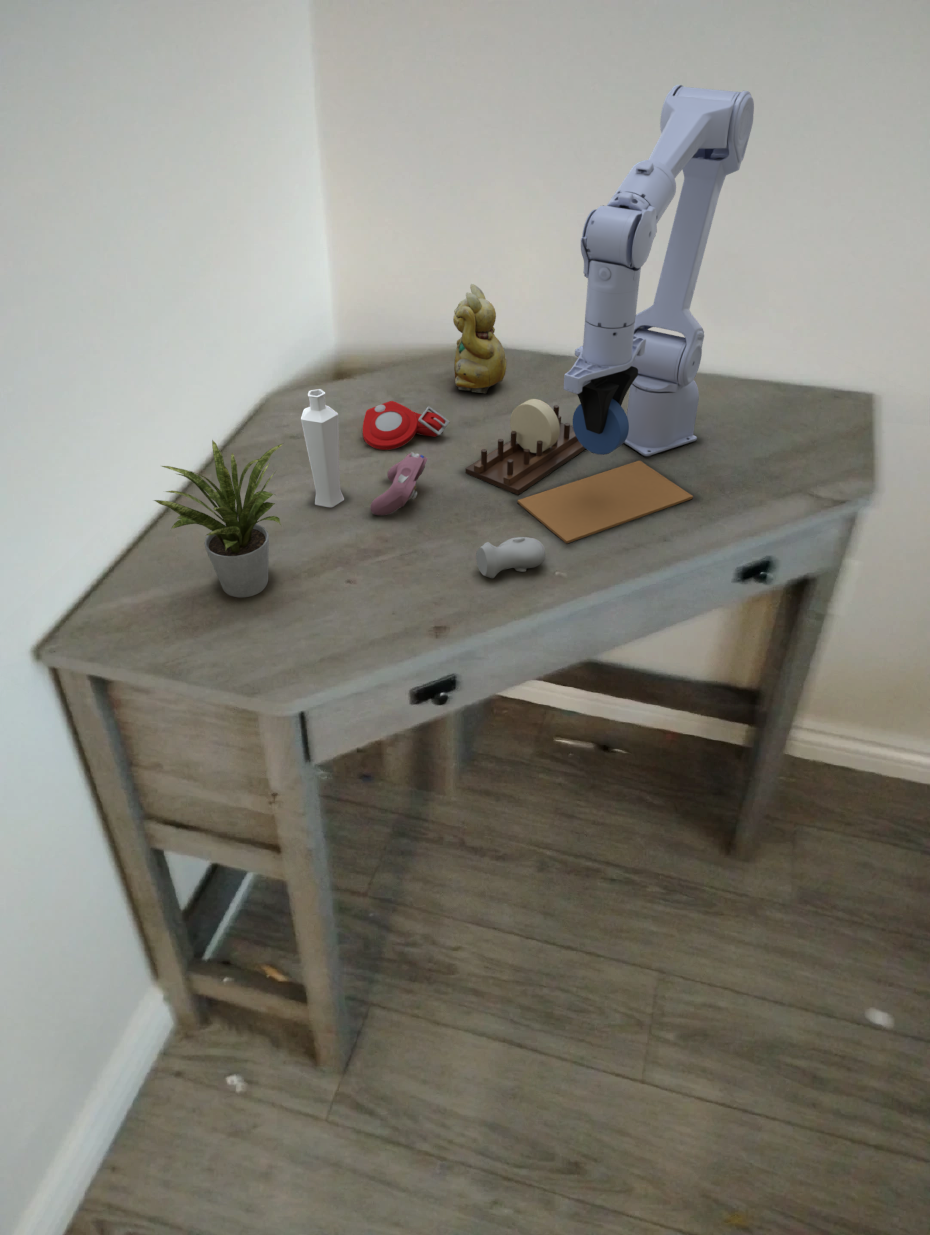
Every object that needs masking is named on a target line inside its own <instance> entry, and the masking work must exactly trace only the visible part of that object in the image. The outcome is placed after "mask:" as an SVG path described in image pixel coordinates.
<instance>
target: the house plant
mask: <svg viewBox="0 0 930 1235" xmlns="http://www.w3.org/2000/svg"><path fill="white" fill-rule="evenodd" d="M284 443H285V442H283V443H280V444H278V445H275V446H274V447H272V448H270V449H269V450H267V451H266V452H265V453H264V454H262V456H260V458H257V459H253V460H251V461H250V462H248V463H247V464H246V465H245V466H244V468H243V470H242V471H241V474H240V479H239V476H238V475H239V474H238V464H237V461H236V458H235V455H234V453H233V452H231V455H230V468H231V469H230V470H231V474H230V471H229V469H228V468H227V467H226V466H225V461H224V456H223V454H222V453H221V451H220V448H219V447H218V445H217V443H216V442H215V441H214V440H213V439H212V441H211V447H212V453H213V460H214V466H215V474H216V479H217V481H218V483H219V488H218V486H217V485H216V484H215V483H213V481H212V480H211V479H209V478H208V477H206V476H203V475H202V474H200V473H197V472H195V471H192V470H189V469H184V468H180V467H179V468H178V467H176V466H170V465H161V467H162V468H164V469H167V470H171V471H173V472H177V475H179V476H181V477H184V478H186V479H188V480H189V481H190V482H192V483H193V484H194V485H195V486H196V487H197V488H198V489H199V490H200V491H201V493H202V494H203V495H204V496H205V497H206V499H207V500H208V501H209V502H210V504H211V505H212V506H213V508H211V507H209V505H207V504H206V503H205V502H203V501H202V500H200V499H199V498H197V497H195V496H193V495H191V494H189V493H187V492H183V491H178V490H167V491H163V492H164V493H170V494H177V495H181V496H184V497H187V498H189V499H191V500H193V501H194V502H196V503H197V504H199V505H201V506H203V507H204V508H206V509H207V510H208V511H210V512H211V513H212V514H214V516H216V517H217V518H218V519H219V520H221V521H219V520H218V519H215V517H212V516H210V515H209V514H207V513H205V512H202V511H199V510H196V509H194V508H191V507H189V506H185V505H182V504H180V503H176V502H173V501H169V500H162V499H161V500H159V499H154V500H152V501H153V502H155V503H158V504H159V505H161V506H164V507H166V508H169V509H170V510H172V511H173V512H174V513H177V514H178V515H179V516H177V517H176V518H175V520H177V519H178V520H177V521H176V522H174V523H173V525H172V527H171V528H170V530H172V529H177V528H181V527H183V526H184V527H185V526H188V525H198V526H203V527H205V528H206V529H208V530H209V531H211V532H209V533H207V534H206V536H205V540H204V544H203V545H204V548H205V551H206V553H207V555H208V558H209V560H210V562H211V564H212V565H211V566H212V567H213V569H214V571H215V573H216V577H217V578H218V581H219V583H220V586H221V588H222V590H223V591H224V592H225V594H227V595H228V596H230V597H234V598H248V597H253V596H255V595H258V594H260V593H261V592H262V591H264V590H265V588H266V587H267V585H268V583H269V559H270V558H269V552H270V549H269V548H270V535H269V531H268V530H267V529H266V528H265V527H264V526H263V525H260V524H259V522H262V521H271V522H276V523H278V524H279V525H280V526H282V524H281V519H280V517H278V516H276V515H270V516H265V517H263V518H261V517H262V516H263V515H265V514H266V513H267V512H268V511H269V510H270V509H272V508H273V506H274V505H276V503H275V502H271V501H267V500H269V499H270V498H271V497H272V496H276V494H275V493H272V492H269V491H265V488H266V487H267V485H268V483H269V482H270V481H271V479H272V478H273V476H274V475H275V474H276V472H277V470H278V469H277V470H276V471H274V472H273V473H272V474H271V476H270V477H269V478H268V479H267V480H266V482H265V483H264V484H263V487H262V488H261V489H260V490H258V491H256V490H257V488H258V486H259V485H260V483H261V482H262V479H263V477H264V476H265V473H266V471H267V469H268V467H269V465H270V464H271V461H270V462H268V461H269V460H270V457H272V455H273V454H274V452H276V451H277V450H278V449H280V448H281V447H282V446H283V444H284ZM267 463H268V464H267ZM253 464H254V467H253V468H252V470H251V473H250V475H249V478H248V479H249V480H248V484H247V488H246V491H245V495H244V499H243V502H242V498H241V492H242V485H243V481H244V478H245V476H246V474H247V472H248V470H249V469H250V467H251V466H252V465H253ZM266 464H267V465H266ZM204 479H205V480H204ZM207 482H208V483H207ZM216 512H217V513H218V514H217V513H216ZM260 518H261V519H260ZM222 522H223V523H224V524H223V523H222Z"/></svg>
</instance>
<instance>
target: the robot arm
mask: <svg viewBox="0 0 930 1235" xmlns="http://www.w3.org/2000/svg"><path fill="white" fill-rule="evenodd" d="M754 112H755V101H754V98H753V97H752V93H751V92H750V91H749V90H742V91H734V90H725V89H714V88H701V87H690V86H684V85H682V84H675V85H674V86H673V87H672V88H671V89H670V90H669V91H668V93H667V94H666V96H665V98H664V101H663V104H662V107H661V112H660V118H659V121H660V123H659V128H660V136H659V138H658V140H657V142H656V144H655V145H654V147H653V149H652V151H651V153H650V155H649V157H648V159H644V160H641V161H638V162H637V163H635V164H634V165H633V166H632V167H631V169H630V170H629V171H628V173H627V175H626V176H625V177H624V179H623V180H622V182H621V183H620V185H619V186H618V187H617V189H616V191H615V192H614V194H613V195H612V197H611V198H610V199H609V201H608V203H606V205H603V204H602V205H600V206H598V207H597V208H595V209H592V210H591V211H590V212H589V214H588V215H587V217H586V219H585V222H584V224H583V229H582V232H581V233H582V234H581V238H580V252H581V257H582V260H583V274H584V275H583V276H584V277H585V278H586V279H587V285H586V286H587V288H586V300H585V314H584V325H583V326H584V327H583V338H582V339H583V341H582V345H581V346H579V347H577V348H576V349H575V350H574V357H578V358H577V359H576V360H575V362H574V363H573V365H572V367H571V368H570V369H569V370H568V371H567V372H566V373H564V376H563V391H565V392H569V393H572V394H575V395H577V397H578V399H579V403H580V404H581V406H582V410H583V415H584V420H585V425H586V430H589V431H591V432H594V433H597V434H601V433H602V432H603V430H604V427H605V424H606V420H607V414H608V410H609V406H610V403H611V400H612V399H614V400H615V401H616V402H618V403H619V404H620V406H621V407H622V405H623V402H624V400H625V398H626V395H627V393H628V401H627V410H626V415H627V418H628V423H629V432H628V436H627V438H626V440H625V442H624V443H623V444H625V445H627V446H629V447H630V448H632V449H633V450H635V451H636V452H638V453H639V454H641V455H642V456H644V457H650V456H653V455H656V454H659V453H662V452H665V451H668V450H671V449H674V448H677V447H680V446H683V445H687V444H690V443H693V442H695V441H697V439H698V437H697V436H696V435H694V432H695V424H696V419H697V414H698V413H697V412H698V406H699V401H700V392H699V388H698V385H697V383H696V381H695V378H696V376H697V374H698V371H699V369H700V365H701V362H702V355H703V344H704V340H705V339H704V338H705V331H704V328H703V326H702V324H700V322H699V321H698V320H697V319H696V318H695V316H694V314H692V312H691V310H690V309H691V306H692V302H693V298H694V293H695V290H696V286H697V282H698V278H699V275H700V270H701V267H702V263H703V259H704V255H705V251H706V248H707V243H708V241H709V236H710V232H711V228H712V224H713V220H714V216H715V213H716V209H717V205H718V201H719V197H720V195H721V191H722V188H723V185H724V182H725V180H726V177H727V176H728V175H730V174H733V173H735V172H738V171H739V170H740V168H741V165H742V162H743V160H744V158H745V154H746V150H747V147H748V143H749V139H750V135H751V132H752V129H753V128H752V127H753V124H754V114H755V113H754ZM681 171H682V174H683V182H682V185H681V186H682V187H681V190H680V194H679V199H678V203H677V207H676V210H675V214H674V215H675V216H674V219H673V223H672V227H671V229H670V230H671V231H670V233H669V234H670V235H669V240H668V243H667V246H666V252H665V255H664V259H663V262H662V267H661V271H660V276H659V278H658V284H657V287H656V292H655V294H654V295H655V296H654V300H653V304H652V305H650V306H649V307H647V308H646V309H645V308H644V309H643V310H642V311H640V312H638V313H637V307H638V298H639V290H640V281H641V280H640V279H641V270H642V267H643V266H644V264H645V263H646V262H647V260H648V259H649V256H650V253H651V250H652V246H653V242H654V239H655V238H656V235H657V233H658V223H659V222H660V220H661V218H662V217H663V215H664V213H665V212H666V210H667V208H668V207H669V205H670V204H671V202H673V200H674V197H675V196H676V192H677V182H676V178H677V177H678V175H679V174H680V173H681ZM651 328H659V329H661V330H662V329H663V330H666V331H667V330H668V331H672V332H677V333H679V334H681V335H683V336H679V335H675V334H670V333H665V332H660V331H656V330H652V329H651ZM628 391H629V392H628Z"/></svg>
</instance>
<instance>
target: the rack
mask: <svg viewBox="0 0 930 1235" xmlns="http://www.w3.org/2000/svg"><path fill="white" fill-rule="evenodd" d="M552 409H553V411H554V412H555V414H556V416H557V418H558V421H559V425H560V434H559V437H558V440H557V441H556V443H555V444H554V445H552V446H551V447H549V448H548V449H546V450H545V451H543V452H542V446H543V442H542V441H537V448H536V453H532V452H530V450H529V449H524V448H522V447H521V446H520V445H519V444H518V443H517V441H516V438H517V432H516V431H510V440H509V441H507V442H505V441H504V440H505V439H504V438H498V439H497V448H496V449H494V450H493V451H491V452H489V453H488V449H486V448H482V449H481V450H480V459H478V460H477V461H475V462H473V463H472V464H470V465H468V466H467V467H465V470H464V471H465V472H464V473H465V474H467V475H469V476H471V477H474V478H477V479H479V480H481V481H483V482H486V483H488V484H490V485H493V486H496V487H497V488H500V489H503V490H504V491H508V492H510V493H512V494H515V495H517V496H519V495H520V494H522V493H524V492H525V491H526V490H528V489H529V488H531V487H532V486H534V485H535V484H536V483H538V482H539V481H541V480H542V479H544V478H545V477H546V476H548V475H550V474H551V473H553V472H554V471H556V470H557V469H559V468H560V467H561V466H562V465H564V464H566V463H567V462H569V461H570V460H572V459H574V458H575V457H576V456H578V455H580V453H582V452H583V451H585V450H587V449H586V448H584V447H583V446H582V444H581V443H580V442H579V441H578V439H577V437H576V435H575V433H574V429H573V425H572V426H571V424H570V422H565V423H563V422H562V416H561V415H559V414H560V405H558V404H554V405H553V408H552Z"/></svg>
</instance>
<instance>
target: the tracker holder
mask: <svg viewBox="0 0 930 1235" xmlns="http://www.w3.org/2000/svg"><path fill="white" fill-rule="evenodd" d="M449 424H450V420H448V418H446V417H445V416H443V415H442V414H441V413H439V412H437V411H436V410H435V409H434V408H432V407H431V406H430V405H428V406H427V407H426V408H425V410H424V411H423V412H422V413H418V412H415V411H413V410H411V409H410V408H408V407H407V406H405V405H404V404H401V403H399V402H397V401H394V400H389V401H386V402H384V403H381V404H378V405H375V406H373V407H371V408H368V409H367V410H366V411H365V414H364V418H363V422H362V437H363V441H364V442H365V443H366V444H367V445H369V447H370V448H373V449H375V450H382V451H389V450H395V449H399V448H401V447H402V446H405V445H406V444H408V443H409V442H410V441H412V439H413V438H414V437H415V435H416V434H417V435H419V436H425V437H434V438H435V437H438V436H441V435H442V433H443V432H444V431H445V429H446V428H447V427H448V425H449Z"/></svg>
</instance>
